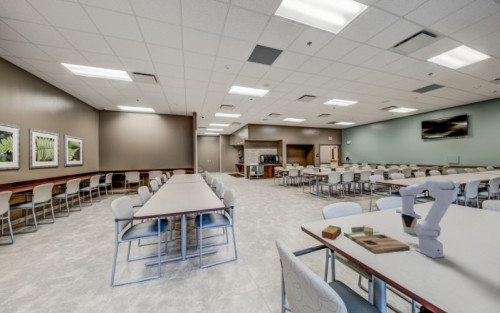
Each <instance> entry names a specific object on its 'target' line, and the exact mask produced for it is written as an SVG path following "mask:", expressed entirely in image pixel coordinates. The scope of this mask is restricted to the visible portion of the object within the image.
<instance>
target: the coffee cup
mask: <svg viewBox="0 0 500 313" xmlns="http://www.w3.org/2000/svg"><path fill="white" fill-rule="evenodd" d="M414 213H415V214H416V212H415V211H414ZM401 215H403V214H401ZM401 223H402V224H401V225H402V228H403V232H404V233H407V234H410V235H413V234H414V235H417V234H416V233H415V231H414V226H415V225H417V224H418V219H417V218H415V219H414V220H413V222H412V224H411V227H406V225H405V222H404V220H403V218H402V217H401Z"/></svg>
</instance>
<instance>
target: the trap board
mask: <svg viewBox="0 0 500 313" xmlns="http://www.w3.org/2000/svg"><path fill="white" fill-rule="evenodd" d="M343 236H345V237H346V238H349V239H350V240H351V241H352V242H355V243H356V244H358V245H360V246H361V247H363V248H364V249H366V250H368V251H369V252H371V253H373V254H379V253H388V252H389V253H390V252H399V251H407V250H410V249H411V248H410V245H408V244H406V243H404V242H402V241H401V240H397V239H395V238H393V237H391V236H388V235H387V234H384V233H381V232H379V231H377V230H375V229H373V235H367V234H364V232H363V225H362V226H352V227H351V230H350V231H344V232H343Z"/></svg>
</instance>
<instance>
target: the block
mask: <svg viewBox="0 0 500 313" xmlns="http://www.w3.org/2000/svg"><path fill="white" fill-rule="evenodd" d="M362 226H363V232H364V234H367V235H373V230H374V227H373V226H372V225H371V224H363V225H362Z"/></svg>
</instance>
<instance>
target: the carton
mask: <svg viewBox="0 0 500 313" xmlns="http://www.w3.org/2000/svg"><path fill="white" fill-rule="evenodd" d="M341 233H342V228H341V226H335V225H328V226H327V227H326V228H324V229H323V230H321V237H323V238H326V239H331V240H335V239H337V237H338V236H339V235H340V234H341Z"/></svg>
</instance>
